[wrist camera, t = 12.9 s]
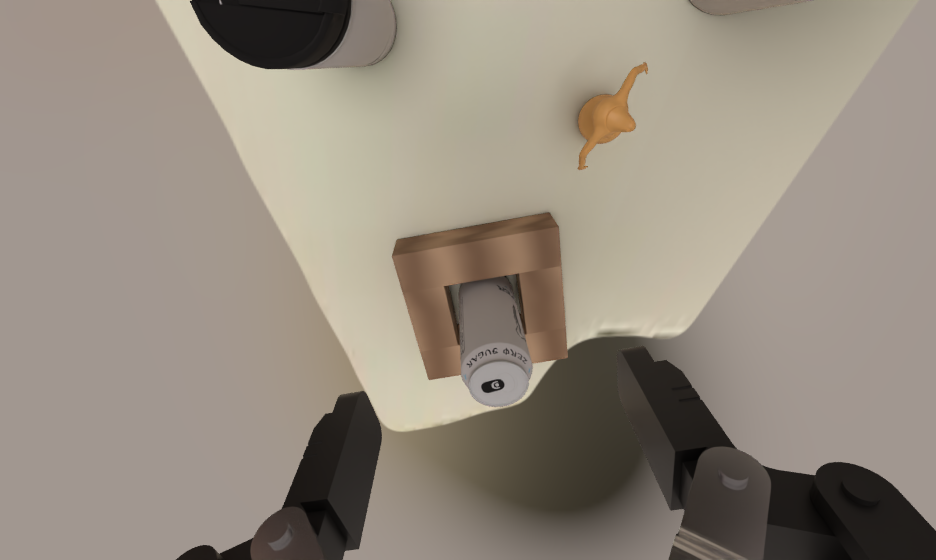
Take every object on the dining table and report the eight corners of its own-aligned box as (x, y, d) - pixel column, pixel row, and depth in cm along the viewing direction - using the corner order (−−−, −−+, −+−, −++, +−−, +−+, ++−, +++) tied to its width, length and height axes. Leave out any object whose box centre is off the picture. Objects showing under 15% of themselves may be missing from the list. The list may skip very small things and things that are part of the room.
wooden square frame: (549, 212, 41) (558, 226, 37) (559, 336, 48) (567, 357, 45) (396, 239, 42) (391, 256, 38) (430, 357, 49) (428, 379, 46)
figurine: (586, 167, 39) (636, 207, 28) (533, 138, 37) (566, 169, 27) (640, 82, 35) (720, 91, 25) (584, 46, 34) (645, 40, 23)
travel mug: (400, 70, 34) (347, 79, 17) (321, 62, 34) (180, 62, 16) (402, -20, 31) (338, -125, 14) (315, -31, 31) (133, -154, 13)
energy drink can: (517, 304, 46) (543, 401, 33) (468, 318, 47) (474, 419, 34) (503, 259, 43) (526, 347, 30) (451, 275, 44) (450, 367, 31)
